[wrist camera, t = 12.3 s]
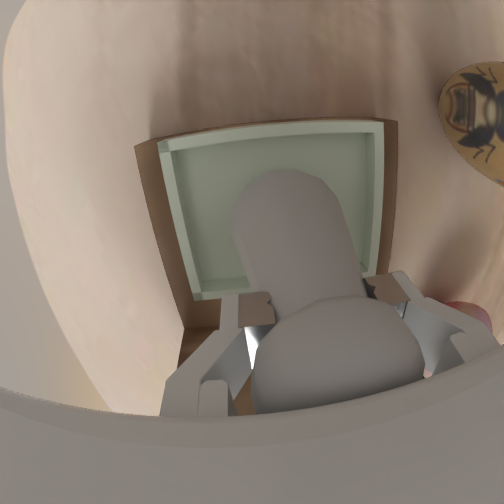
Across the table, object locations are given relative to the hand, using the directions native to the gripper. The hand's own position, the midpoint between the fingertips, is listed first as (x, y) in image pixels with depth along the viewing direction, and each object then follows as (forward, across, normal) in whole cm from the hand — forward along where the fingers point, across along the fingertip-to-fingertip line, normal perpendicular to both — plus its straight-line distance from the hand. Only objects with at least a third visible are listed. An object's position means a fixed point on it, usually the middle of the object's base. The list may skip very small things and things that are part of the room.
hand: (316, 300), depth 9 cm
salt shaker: (+9, 0, 0) cm, 9 cm away
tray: (+9, 0, 0) cm, 9 cm away
